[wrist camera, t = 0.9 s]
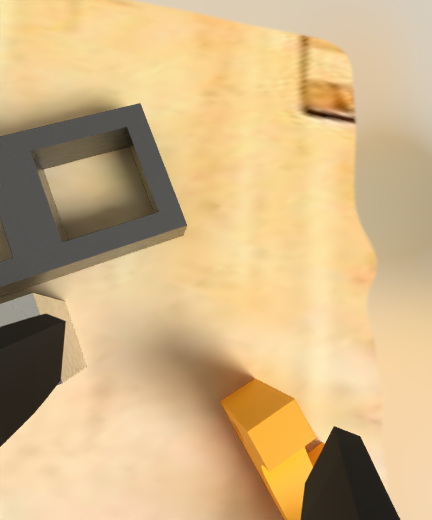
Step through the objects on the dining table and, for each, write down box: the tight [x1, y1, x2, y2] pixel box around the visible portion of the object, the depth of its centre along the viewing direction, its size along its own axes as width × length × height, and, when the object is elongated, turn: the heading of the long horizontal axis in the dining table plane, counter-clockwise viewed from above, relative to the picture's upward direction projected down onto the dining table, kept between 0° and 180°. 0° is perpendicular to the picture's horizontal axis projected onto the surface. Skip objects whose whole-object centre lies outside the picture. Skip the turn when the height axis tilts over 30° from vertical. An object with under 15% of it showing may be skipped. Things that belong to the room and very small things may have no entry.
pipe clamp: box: [220, 379, 325, 520], centre depth 19 cm, size 12×4×6 cm, turn 29°
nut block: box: [0, 293, 87, 385], centre depth 17 cm, size 4×4×6 cm
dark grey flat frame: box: [0, 103, 187, 297], centre depth 20 cm, size 16×8×2 cm, turn 111°
